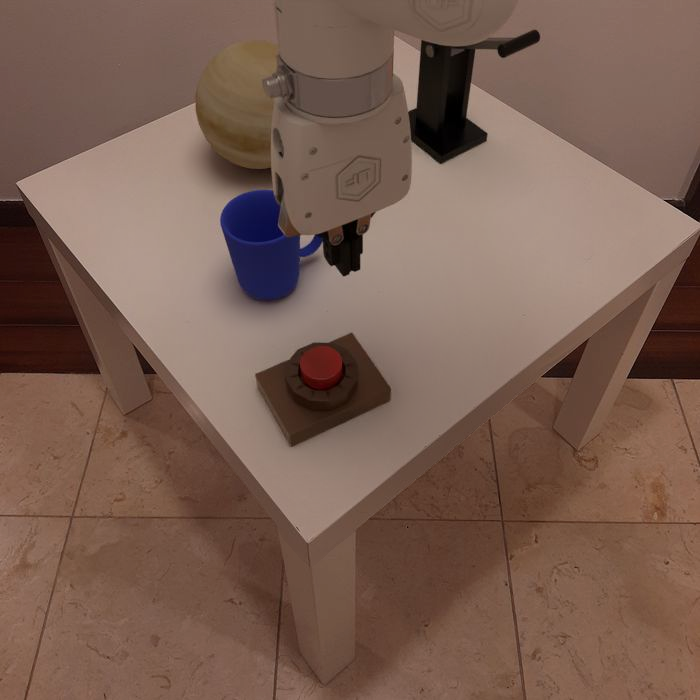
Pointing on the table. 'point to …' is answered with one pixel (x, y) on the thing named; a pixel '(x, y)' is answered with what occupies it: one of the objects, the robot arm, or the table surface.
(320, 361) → the power button
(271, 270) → the mug
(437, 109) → the switch bracket
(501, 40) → the switch lever
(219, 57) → the decorative ball
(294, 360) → the button block
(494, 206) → the table surface
